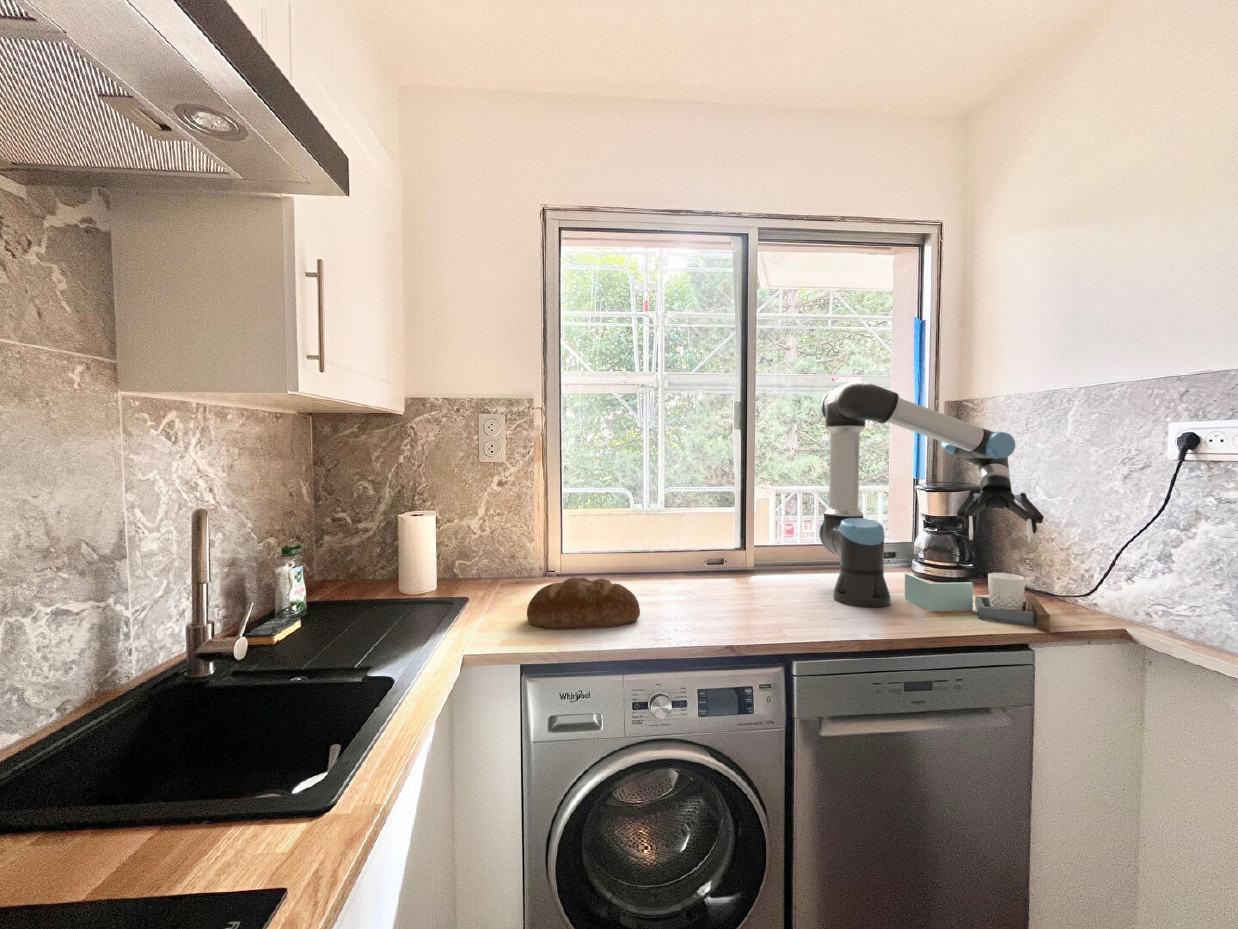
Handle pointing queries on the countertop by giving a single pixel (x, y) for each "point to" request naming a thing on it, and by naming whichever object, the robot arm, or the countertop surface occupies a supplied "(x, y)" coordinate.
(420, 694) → the countertop surface
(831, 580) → the countertop surface
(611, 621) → the bread
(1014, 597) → the white cup
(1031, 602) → the brown drawer face panel
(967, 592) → the right angle wall
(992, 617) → the gray square tray
